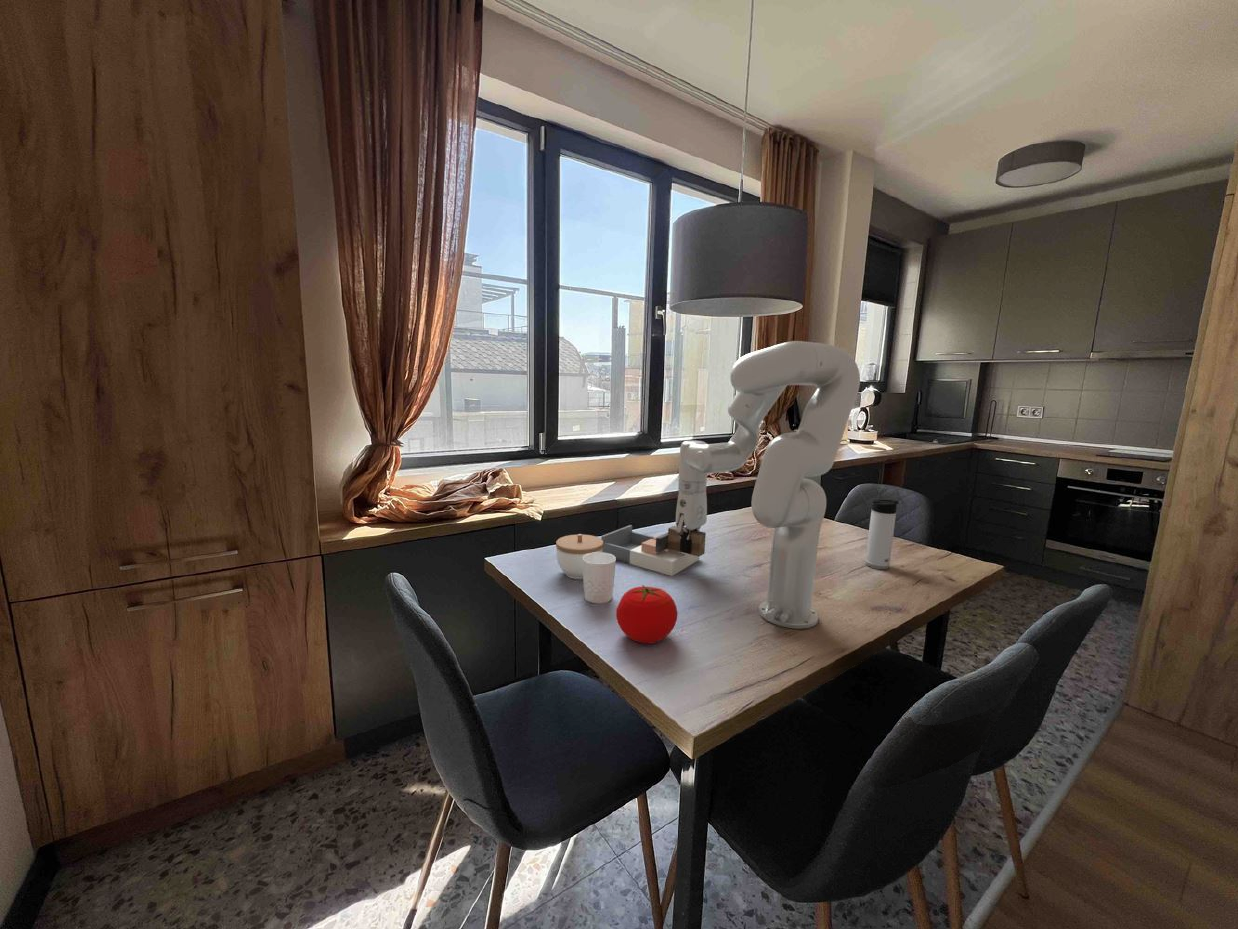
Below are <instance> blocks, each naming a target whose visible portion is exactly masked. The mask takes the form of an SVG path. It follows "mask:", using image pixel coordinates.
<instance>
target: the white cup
mask: <svg viewBox="0 0 1238 929" xmlns="http://www.w3.org/2000/svg"><path fill="white" fill-rule="evenodd" d="M616 562H617V560H616V557H615V556H614V555H612V554H609V553H603V552H594V553H589V554H586V555H584V556H583V579H582V580H583V591H584V599H585V600H586V602H589V603H592V604H605V603H608V602H610V601H612V599H613V592H614V587H615V586H614V584H615V574H616Z"/></svg>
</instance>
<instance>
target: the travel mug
mask: <svg viewBox="0 0 1238 929" xmlns="http://www.w3.org/2000/svg"><path fill="white" fill-rule="evenodd" d="M898 505H900V503H899V501H898V500H896V499H894V500H892V499H876V500H873V502H872V507H871V509H870V510H871V513H870V520H869V530H868V536H867V537H868V538H867V546H866V555H865V561H864V562H865V565H866V567H868V566H870V567H869V568H871V567H872V568H871V569H874V568H876V569H875V570H879V569H886V570H888V569H887V568H890V563H891V556H892V547H893V543H894V542H893V539H894V533H895V532H894V531H895V523H896V516H897V507H898Z"/></svg>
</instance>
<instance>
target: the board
mask: <svg viewBox="0 0 1238 929" xmlns="http://www.w3.org/2000/svg"><path fill="white" fill-rule="evenodd" d="M641 546H642V545H641ZM641 546H638V547H636V548H634V549H632V550H630V564H629V565H633V566H637V567H640V568H643V569H647V570H651V571H654V572H657V573H660V574H663V575H664V574H665V575H667V576H671V577H672V576H675V575H676V574H678V573H679V572H681V571H683V570H685V569H686V568H688V567H689V566H692V564H694V563H696V562H698V561H700V557H698V556H694V555H690V554H687V553H683V552H679V551H675V550H671V549H666V550H665V551H664V552H662V553H660V554H657V555H654V554H650V553H646V552H643V551H641Z"/></svg>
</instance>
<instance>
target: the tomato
mask: <svg viewBox="0 0 1238 929" xmlns="http://www.w3.org/2000/svg"><path fill="white" fill-rule="evenodd" d="M641 585H642V586H637V587H633V588H630V589H629V590H628V591H626V592H624V594H623V595H622V597H621V599H620V601H619V603H618V605H617V608H616V611H615V617H616V620H617V624H618V626H619V627H620V630H621V631H622V632H623V634H625V635H626V636H627V637H628V638H630V639H631V640H633V641H635V642H637V643H642V644H654V643H657V642H659V641H661V640H664V639H665V638H666V637H668V635H670V634H671V632H672V631H673V629H674V628H675V626H676V623H677V621H678V609H677V604H676V603H675V600H674V598H673V597H672V595H671V594H669V593H668V592H666V590H663V589H662V588H659V587H654V586H653V587H652V586H644V585H643V584H641Z"/></svg>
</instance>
